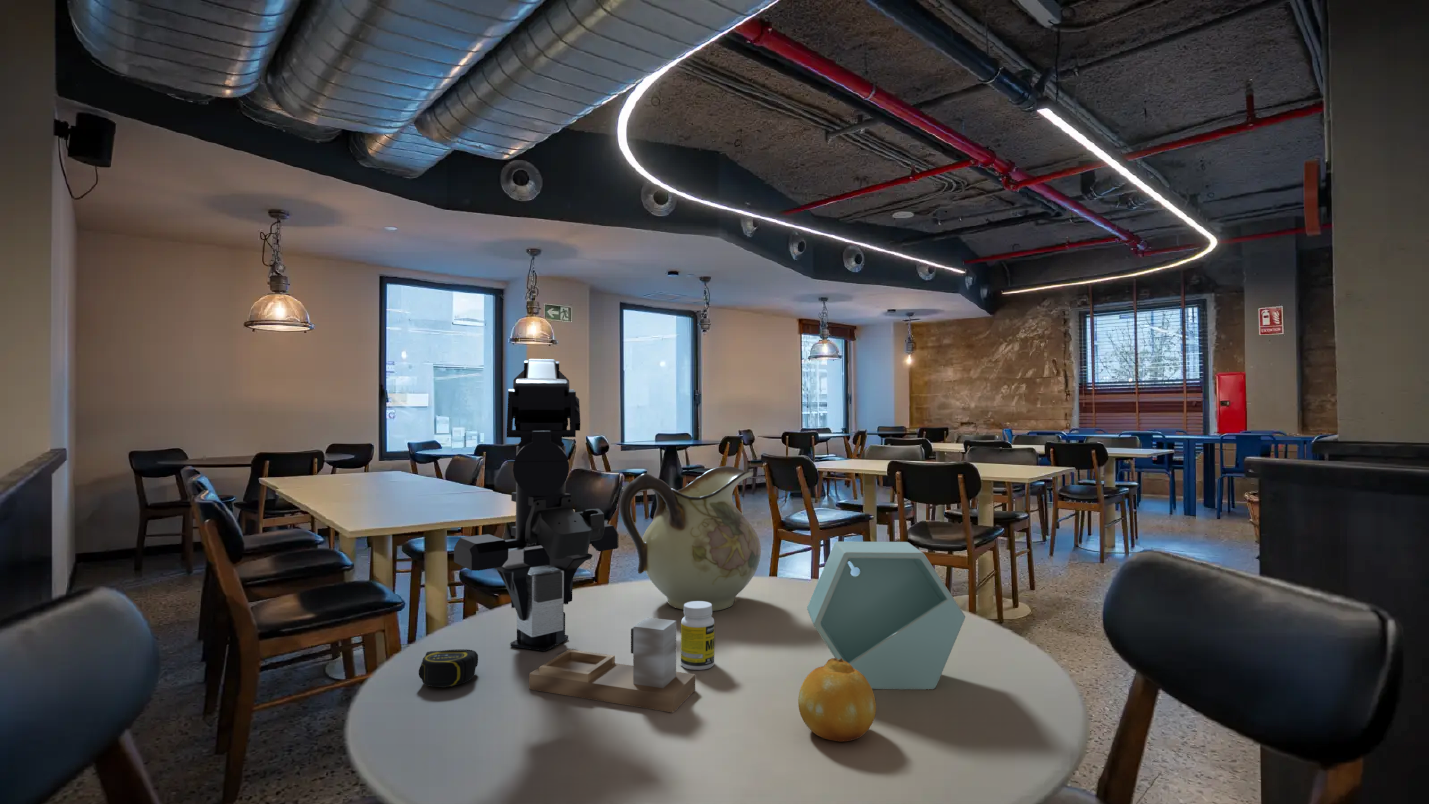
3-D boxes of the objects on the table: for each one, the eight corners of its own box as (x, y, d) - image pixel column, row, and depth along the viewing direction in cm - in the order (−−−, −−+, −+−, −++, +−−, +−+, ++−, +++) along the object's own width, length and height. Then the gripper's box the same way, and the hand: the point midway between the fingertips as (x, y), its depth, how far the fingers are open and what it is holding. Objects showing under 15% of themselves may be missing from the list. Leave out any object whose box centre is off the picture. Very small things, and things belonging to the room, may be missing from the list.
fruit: (848, 688, 82) (825, 638, 79) (900, 719, 75) (876, 665, 72) (800, 737, 78) (775, 686, 75) (850, 774, 71) (824, 720, 69)
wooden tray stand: (529, 689, 87) (529, 618, 87) (559, 670, 94) (560, 604, 94) (673, 712, 80) (673, 635, 80) (695, 690, 87) (695, 619, 87)
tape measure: (479, 672, 93) (479, 644, 93) (470, 691, 87) (471, 661, 87) (426, 675, 92) (426, 647, 92) (413, 695, 85) (413, 665, 86)
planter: (879, 725, 87) (789, 589, 88) (866, 699, 95) (784, 574, 95) (990, 653, 87) (900, 516, 87) (968, 633, 95) (886, 508, 95)
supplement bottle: (710, 672, 93) (710, 610, 93) (677, 669, 94) (677, 608, 94) (717, 660, 98) (717, 600, 98) (685, 657, 99) (685, 599, 99)
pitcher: (777, 595, 133) (777, 466, 133) (730, 629, 111) (730, 476, 112) (675, 583, 142) (675, 463, 143) (613, 613, 121) (614, 471, 121)
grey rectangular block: (534, 638, 78) (534, 577, 78) (516, 628, 81) (517, 569, 81) (565, 631, 80) (566, 571, 80) (547, 621, 84) (548, 564, 84)
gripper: (493, 499, 69) (492, 653, 69) (644, 485, 81) (643, 616, 81) (452, 488, 77) (451, 626, 77) (595, 477, 90) (594, 596, 90)
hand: (540, 616), depth 81 cm, fingers closed on grey rectangular block, 4 cm apart
